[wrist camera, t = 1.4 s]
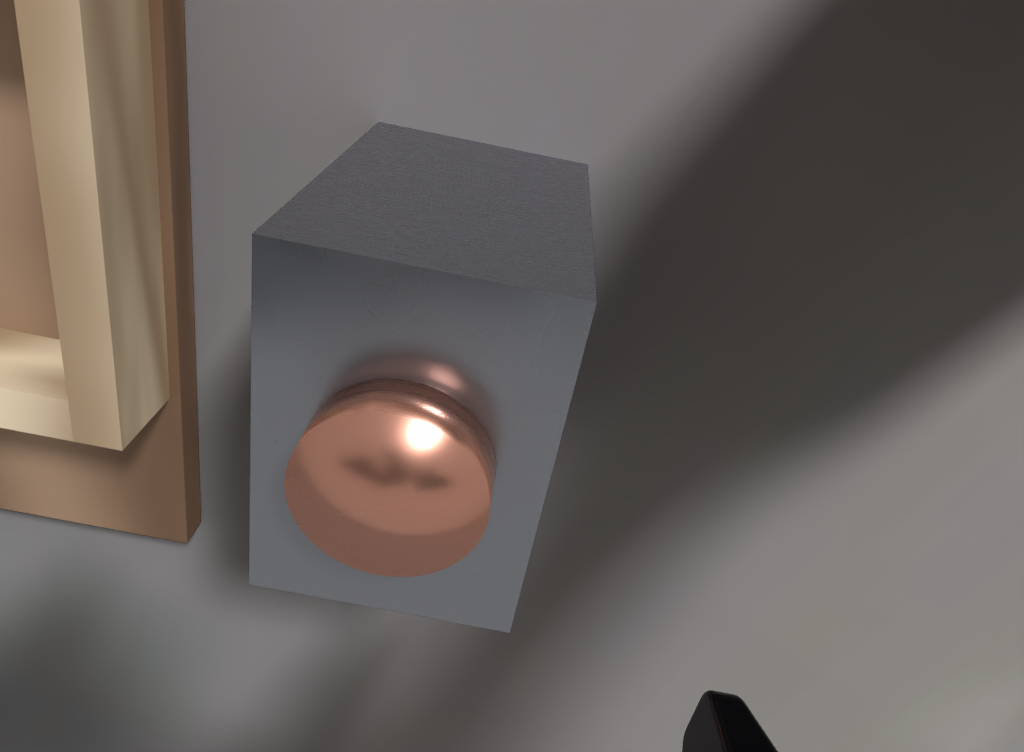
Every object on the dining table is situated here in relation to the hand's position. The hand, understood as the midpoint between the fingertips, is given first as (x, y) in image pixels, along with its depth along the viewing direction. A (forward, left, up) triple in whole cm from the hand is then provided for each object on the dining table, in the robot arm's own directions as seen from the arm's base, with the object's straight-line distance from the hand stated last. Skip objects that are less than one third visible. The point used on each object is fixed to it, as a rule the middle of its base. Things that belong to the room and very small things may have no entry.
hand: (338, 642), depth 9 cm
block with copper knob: (0, 0, -12) cm, 12 cm away
